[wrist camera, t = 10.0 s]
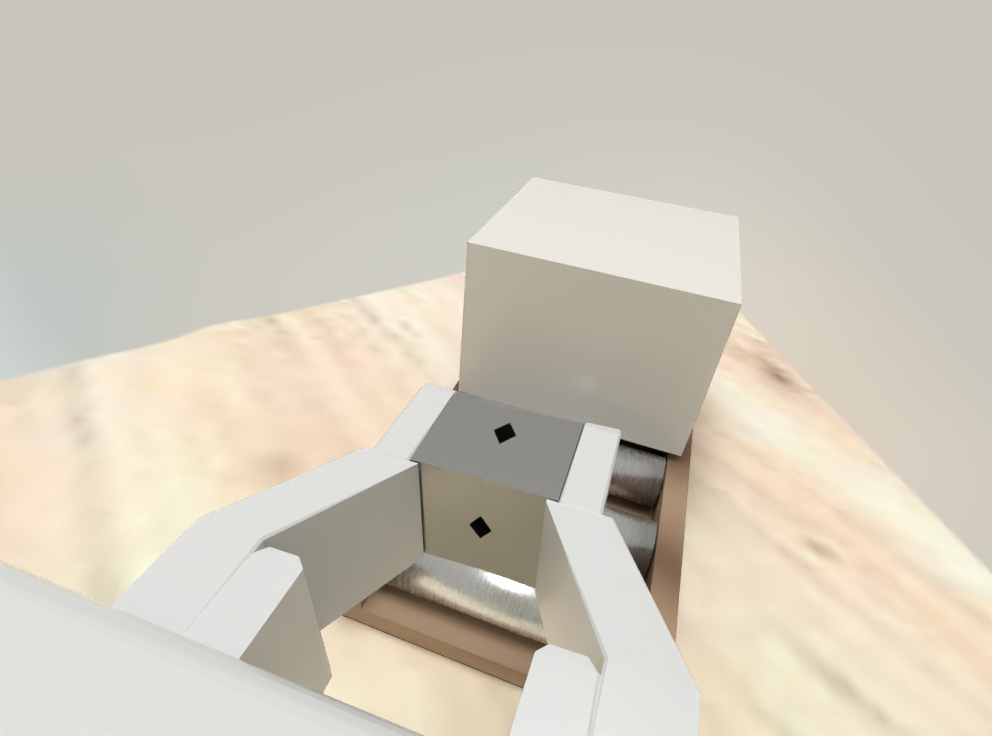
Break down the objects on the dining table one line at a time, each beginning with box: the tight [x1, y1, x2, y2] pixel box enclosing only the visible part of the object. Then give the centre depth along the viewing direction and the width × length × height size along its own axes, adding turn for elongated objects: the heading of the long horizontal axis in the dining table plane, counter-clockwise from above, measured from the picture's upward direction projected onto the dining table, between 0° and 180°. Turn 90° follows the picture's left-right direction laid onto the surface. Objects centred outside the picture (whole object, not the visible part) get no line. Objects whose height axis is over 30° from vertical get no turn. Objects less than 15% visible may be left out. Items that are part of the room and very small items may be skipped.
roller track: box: [343, 381, 693, 688], centre depth 27 cm, size 22×12×7 cm, turn 161°
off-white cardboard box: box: [459, 177, 742, 456], centre depth 28 cm, size 10×11×8 cm
